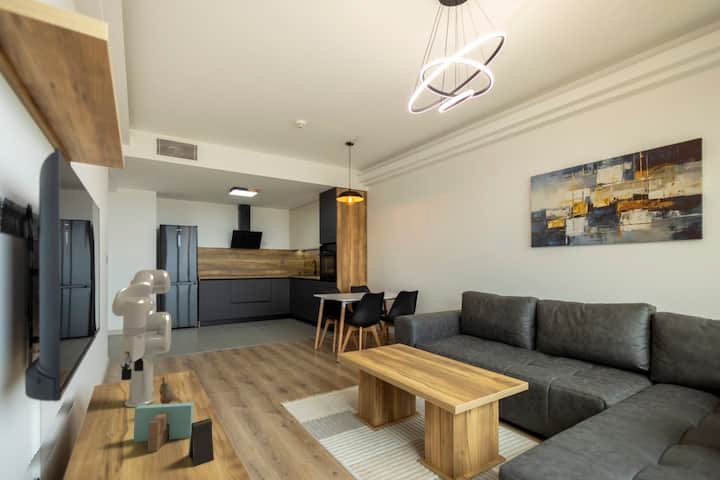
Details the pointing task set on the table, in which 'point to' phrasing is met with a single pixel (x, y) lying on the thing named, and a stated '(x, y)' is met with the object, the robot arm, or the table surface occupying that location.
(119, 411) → the table surface
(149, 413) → the teal board
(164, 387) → the brown carved statuette
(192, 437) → the phone stand
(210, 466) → the table surface
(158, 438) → the walnut board
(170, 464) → the table surface
